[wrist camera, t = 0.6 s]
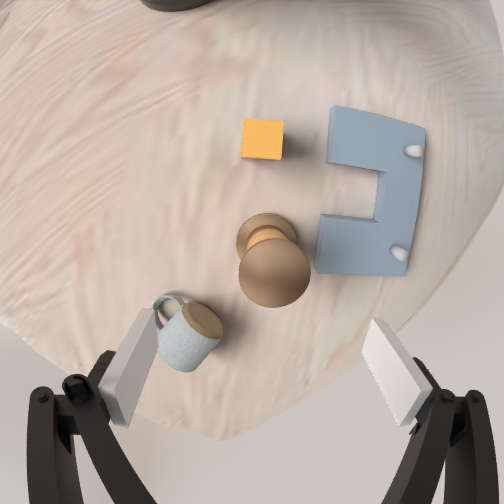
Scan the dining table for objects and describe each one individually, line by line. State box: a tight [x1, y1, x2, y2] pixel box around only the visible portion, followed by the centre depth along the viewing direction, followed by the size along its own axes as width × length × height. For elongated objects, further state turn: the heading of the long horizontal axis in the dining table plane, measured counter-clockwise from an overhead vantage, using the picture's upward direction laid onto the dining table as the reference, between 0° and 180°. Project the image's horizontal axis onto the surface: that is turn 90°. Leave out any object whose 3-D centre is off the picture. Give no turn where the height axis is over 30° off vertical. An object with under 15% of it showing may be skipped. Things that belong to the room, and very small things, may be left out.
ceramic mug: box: [151, 294, 224, 372], centre depth 38 cm, size 11×8×8 cm
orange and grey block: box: [241, 118, 284, 160], centre depth 30 cm, size 4×4×8 cm
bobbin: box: [236, 213, 311, 308], centre depth 33 cm, size 8×8×12 cm
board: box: [314, 105, 425, 276], centre depth 34 cm, size 22×14×6 cm, turn 176°
